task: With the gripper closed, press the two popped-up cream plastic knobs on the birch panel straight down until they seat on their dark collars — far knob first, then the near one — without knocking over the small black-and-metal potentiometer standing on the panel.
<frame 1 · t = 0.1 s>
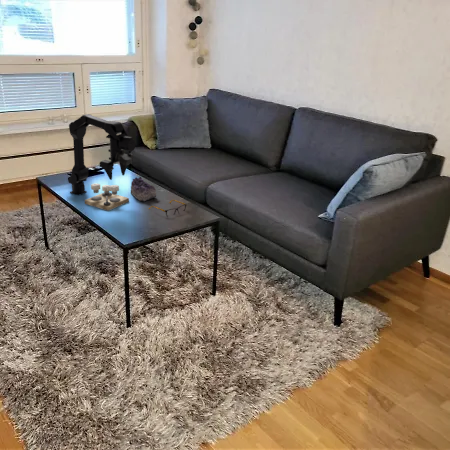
hand: (117, 177, 235), 15 cm above the table, fingers open, 9 cm apart
knob c: (106, 189, 246), point 5 cm above the table, slide at 0.0 cm
geode: (141, 196, 254), on the table
panel: (107, 202, 242), on the table
eyeglasses: (168, 210, 238), on the table
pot: (107, 204, 234), point 2 cm above the table, touching panel
knob b: (114, 190, 237), point 8 cm above the table, slide at 3.0 cm
knob a: (95, 188, 238), point 8 cm above the table, slide at 3.0 cm
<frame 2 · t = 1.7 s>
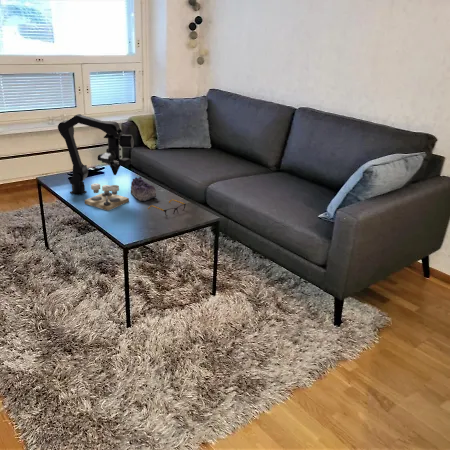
hand: (115, 174, 247), 12 cm above the table, fingers closed
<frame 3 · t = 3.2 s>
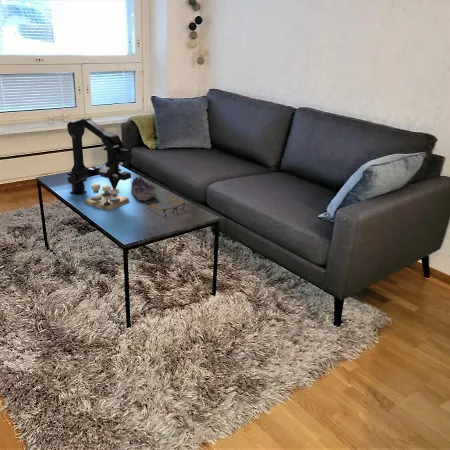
hand: (114, 188, 237), 8 cm above the table, fingers closed, pressing on knob b
knob b: (114, 192, 238), point 6 cm above the table, slide at 1.5 cm, touching gripper
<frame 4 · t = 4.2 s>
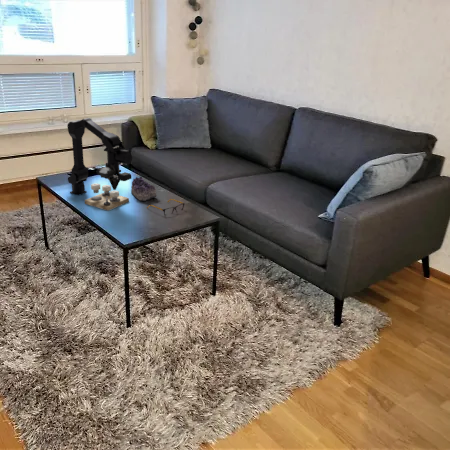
hand: (114, 189, 237), 8 cm above the table, fingers closed
knob b: (114, 195, 239), point 5 cm above the table, slide at -0.1 cm
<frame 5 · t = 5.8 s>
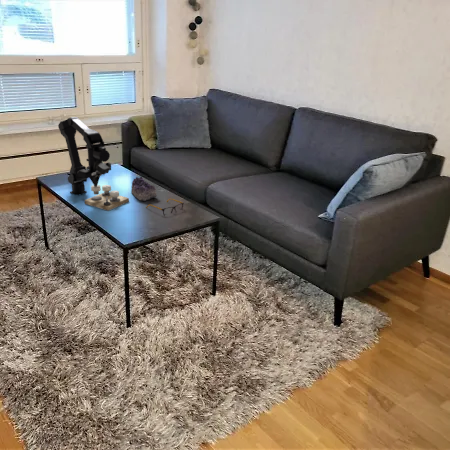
hand: (95, 186, 238), 9 cm above the table, fingers closed, pressing on knob a
knob a: (95, 189, 238), point 7 cm above the table, slide at 2.2 cm, touching gripper
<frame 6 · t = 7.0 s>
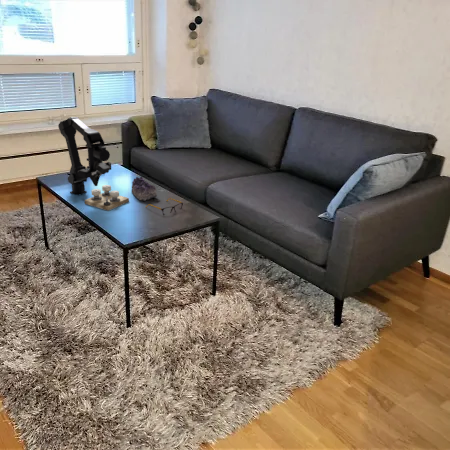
hand: (95, 185, 237), 9 cm above the table, fingers closed
knob a: (96, 194, 239), point 5 cm above the table, slide at -0.1 cm
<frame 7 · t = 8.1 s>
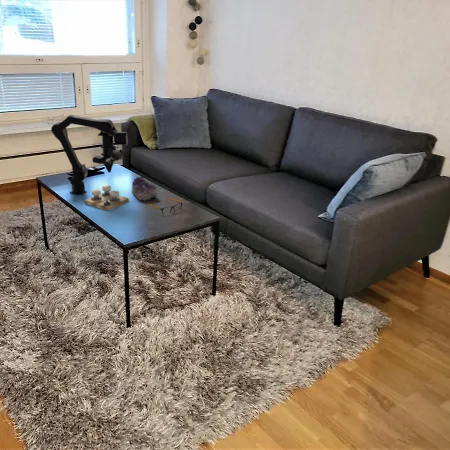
hand: (109, 172, 249), 13 cm above the table, fingers closed
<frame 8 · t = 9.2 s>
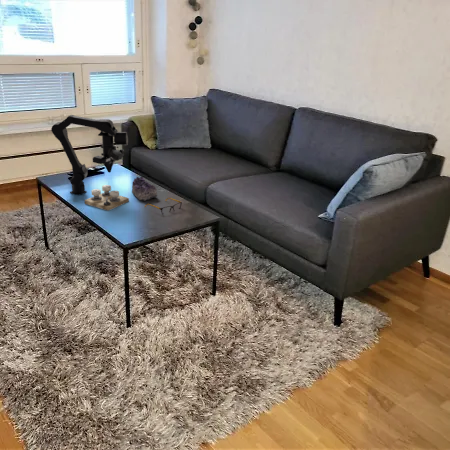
hand: (109, 172, 249), 12 cm above the table, fingers closed
at the end: knob a slide at -0.1 cm; knob b slide at -0.1 cm; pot tilted 0° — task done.
